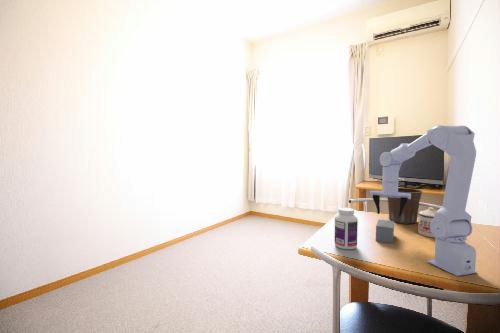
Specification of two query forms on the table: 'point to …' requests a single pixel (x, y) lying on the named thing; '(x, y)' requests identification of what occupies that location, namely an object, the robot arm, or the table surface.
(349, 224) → the pill bottle
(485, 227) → the table surface
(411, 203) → the plant pot
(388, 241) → the grey block
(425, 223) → the teacup with lid
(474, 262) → the robot arm
